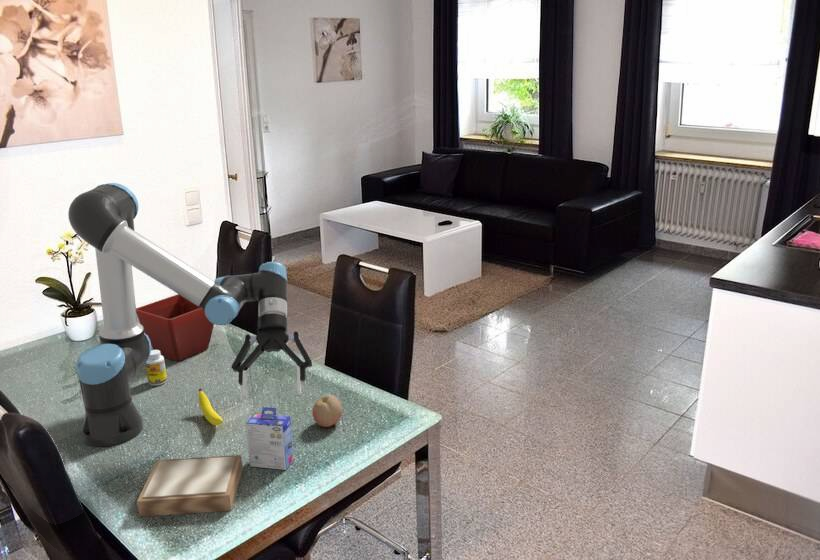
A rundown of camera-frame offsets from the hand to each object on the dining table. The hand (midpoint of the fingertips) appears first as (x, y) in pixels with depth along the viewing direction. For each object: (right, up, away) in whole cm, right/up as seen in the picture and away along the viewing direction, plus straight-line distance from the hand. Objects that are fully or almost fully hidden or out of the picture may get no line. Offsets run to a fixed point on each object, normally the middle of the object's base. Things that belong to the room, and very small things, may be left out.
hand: (271, 395), depth 175 cm
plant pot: (-43, +4, +63) cm, 76 cm away
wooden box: (-15, -20, -14) cm, 29 cm away
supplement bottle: (-43, -3, +41) cm, 60 cm away
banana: (-20, -10, +17) cm, 28 cm away
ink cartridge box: (+1, -16, -3) cm, 17 cm away
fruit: (+13, -10, +14) cm, 21 cm away
